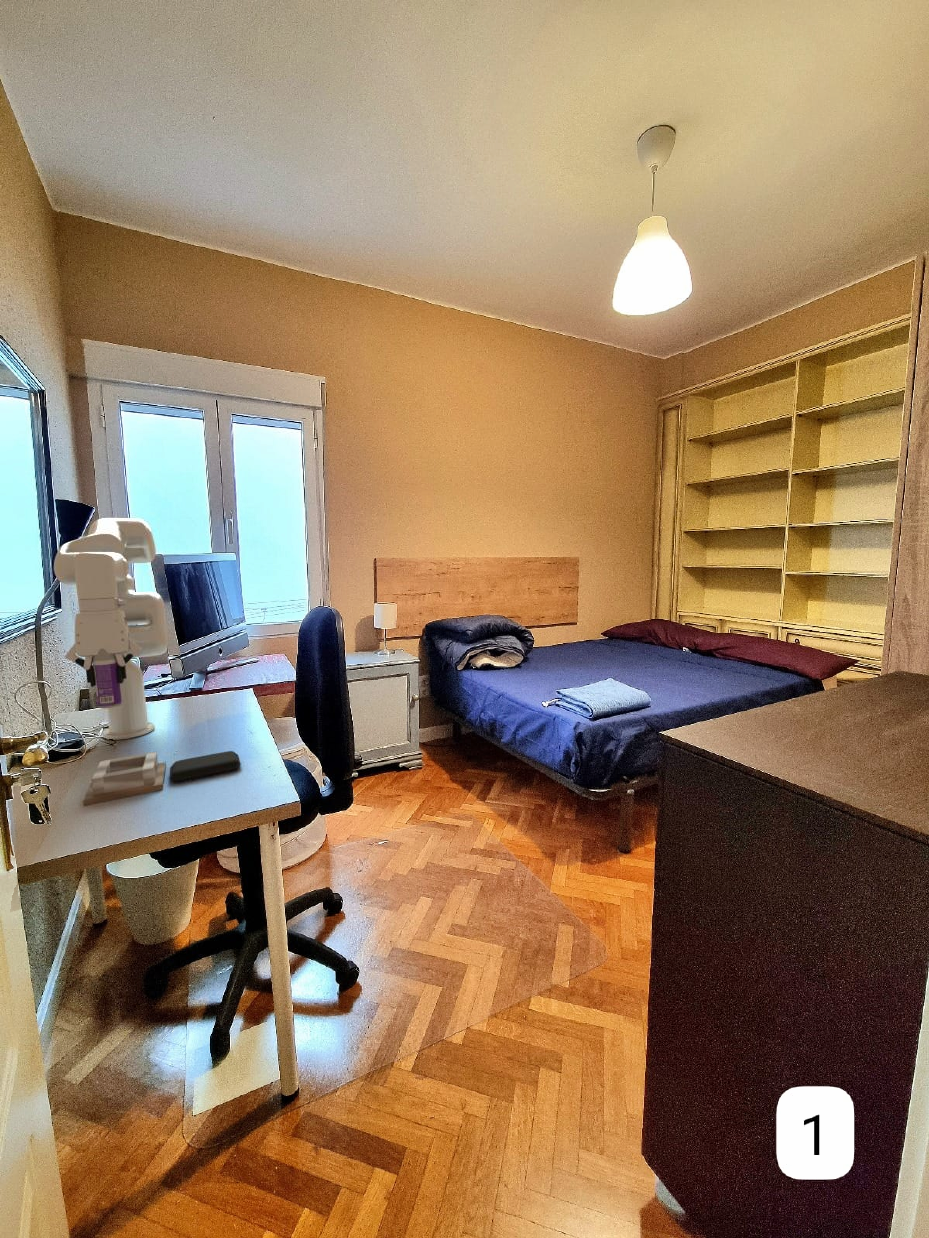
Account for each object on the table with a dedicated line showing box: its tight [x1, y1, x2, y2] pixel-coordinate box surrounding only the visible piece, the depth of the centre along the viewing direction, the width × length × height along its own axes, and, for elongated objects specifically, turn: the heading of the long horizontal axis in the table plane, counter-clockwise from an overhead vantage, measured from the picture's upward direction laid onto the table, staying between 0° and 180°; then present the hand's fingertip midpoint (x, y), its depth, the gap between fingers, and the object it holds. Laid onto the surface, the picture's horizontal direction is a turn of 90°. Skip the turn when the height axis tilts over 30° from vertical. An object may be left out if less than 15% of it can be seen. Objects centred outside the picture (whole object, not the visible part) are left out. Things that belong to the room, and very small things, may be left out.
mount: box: [82, 751, 167, 806], centre depth 112 cm, size 14×14×5 cm
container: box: [92, 648, 122, 709], centre depth 117 cm, size 5×5×15 cm
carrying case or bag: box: [168, 750, 242, 784], centre depth 120 cm, size 11×3×15 cm
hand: (107, 683), depth 117 cm, fingers closed on container, 4 cm apart
